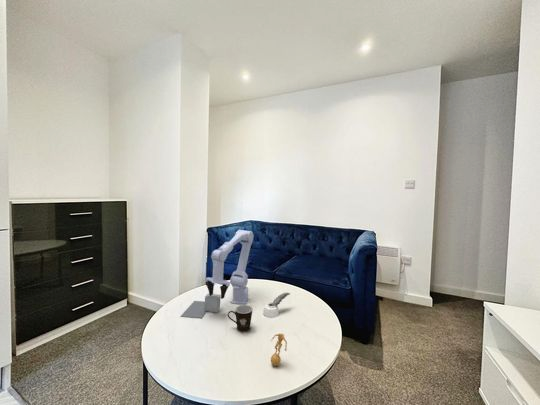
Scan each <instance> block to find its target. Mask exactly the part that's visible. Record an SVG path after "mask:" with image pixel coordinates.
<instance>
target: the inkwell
mask: <svg viewBox="0 0 540 405" xmlns="http://www.w3.org/2000/svg"><path fill="white" fill-rule="evenodd" d="M290 295H291V293H290V292H282V293H281V294H279V295H278V296H277V297H276V298H274V300H273V301H272V302H268V303H267V304H265V306H264V308H263V312H262V314H263V315H264V316H265V317H267V318H277V317H278V316H279V315H280V310H279V306H278V305H280V304H281V302H282V301H283V300H284V299H286V297H288V296H290Z"/></svg>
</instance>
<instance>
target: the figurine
mask: <svg viewBox="0 0 540 405" xmlns="http://www.w3.org/2000/svg"><path fill="white" fill-rule="evenodd" d="M276 337H277V340H276V343H275V346H274V350H275V353H272V355H271V357H270V363H271V364H272V365H273V366H274V367H275V366H279V365H280V364H281V361H282V360H281V355H280V353H281V349H282V346H283V343H282V341H284V342H285V348H284V351H285V352H287V344H288V341H287V340H286V338H285V334H284V333H282V332H281V333H280V332H279V333H278V334H275V335H274V336H273V337H272V338H271V340H270V341H271V342H272V341H273V339H275V338H276ZM277 352H278V353H277Z"/></svg>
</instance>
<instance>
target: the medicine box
mask: <svg viewBox="0 0 540 405" xmlns="http://www.w3.org/2000/svg"><path fill="white" fill-rule="evenodd" d="M204 302H205V308H204V311H207V312H211V313H219V311H220V310H221V294H219V293H218V294H217V293H213V295H211V296H210V295H209V292H208V293H207V294H206V295H205V296H204Z"/></svg>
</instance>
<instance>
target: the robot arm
mask: <svg viewBox="0 0 540 405" xmlns="http://www.w3.org/2000/svg"><path fill="white" fill-rule="evenodd" d="M254 236H255V235H254V233H253V231H252V230H243V229H238V230H237V231H236V232H235V234H234V236H233V237H232V238H231V239H230V240H229V241H225V242H223V244H222V245H221V246H220V247H219V248H217V249H214V250H213V251H212V252H211V255H210V258H211V260H212V277H209V276H208V277H206V278H205V282H206V283H205V286H206V287H207V290H208V293H209V295H210V296H211V295H213V294H214V288H215V287H214V286H215V285H216V284H218V285H220V287H219V289H220V295H221V298H220V300H222V299H223V300H224V298H225V296H226V292H227V291H228V289H229V287H230V286H231V287H232V299H231V301H230V303H231V304H239V305H240V304H241V305H247V302H248V300H249V287H247V285H248V283H249V282H248V281H249V280H248V278H249V275H248V274H247V272H246V269H247V264H248V260H249V255H250V250H251V247H252V244H253V241H254ZM238 243H240V244H241V245H242V246H241V250H240V255H239V259H238V264H237V268H236V270H234V271H233V272H232V274H231V277H230V279H229V281H228V280H226V279H224V267H225V266H224V265H225V261H226V260H227V257H228V254H230V253H231V252H232V251H233V249H234V246H236V245H237V244H238ZM230 284H231V285H230Z"/></svg>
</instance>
